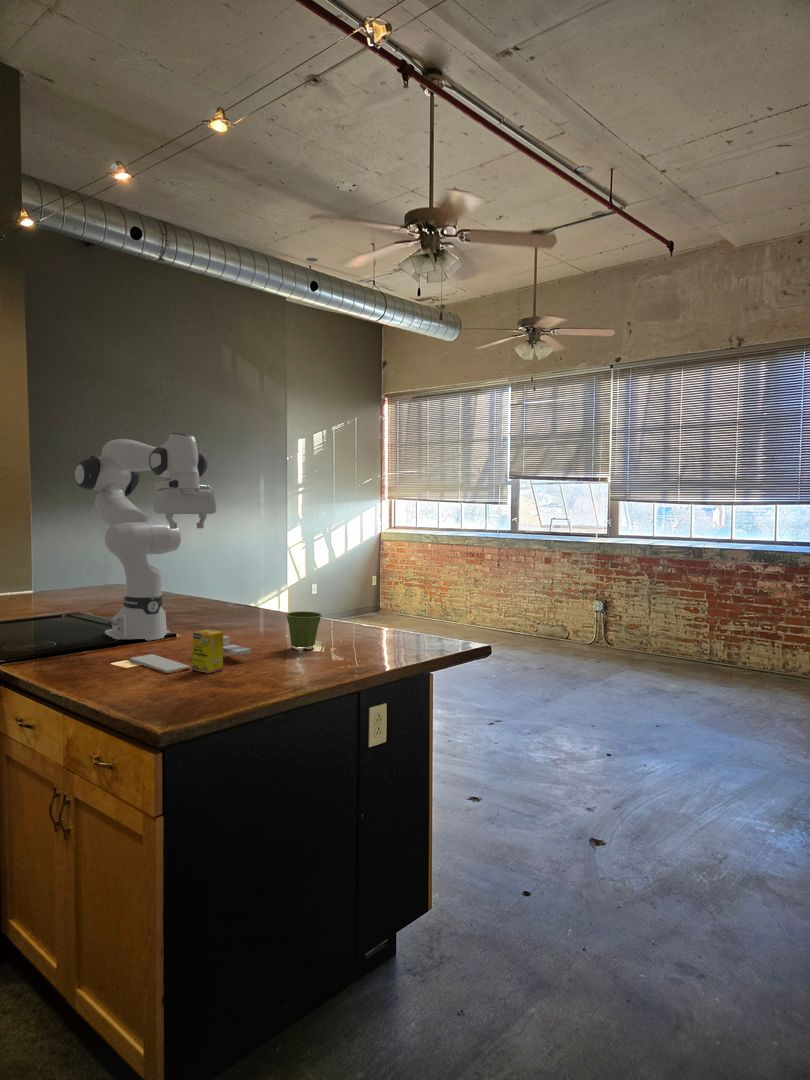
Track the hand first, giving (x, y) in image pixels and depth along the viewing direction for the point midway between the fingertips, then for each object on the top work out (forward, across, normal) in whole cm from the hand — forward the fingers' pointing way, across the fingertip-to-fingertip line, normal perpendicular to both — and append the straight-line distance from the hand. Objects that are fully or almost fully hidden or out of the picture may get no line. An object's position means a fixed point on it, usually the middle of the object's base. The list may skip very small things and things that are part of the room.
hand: (187, 528), depth 215 cm
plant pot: (+41, -28, +19) cm, 53 cm away
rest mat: (+39, +16, +8) cm, 44 cm away
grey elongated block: (+40, -3, +13) cm, 42 cm away
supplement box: (+41, +10, +22) cm, 48 cm away
